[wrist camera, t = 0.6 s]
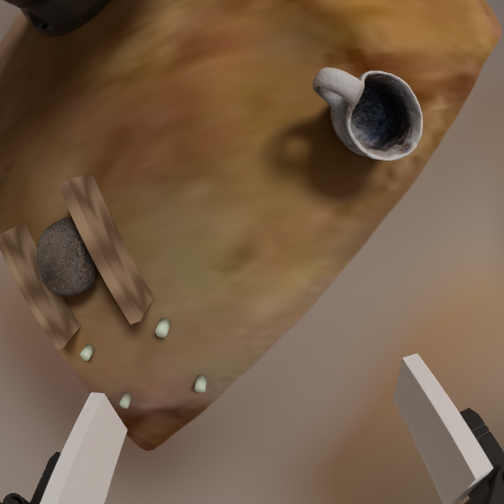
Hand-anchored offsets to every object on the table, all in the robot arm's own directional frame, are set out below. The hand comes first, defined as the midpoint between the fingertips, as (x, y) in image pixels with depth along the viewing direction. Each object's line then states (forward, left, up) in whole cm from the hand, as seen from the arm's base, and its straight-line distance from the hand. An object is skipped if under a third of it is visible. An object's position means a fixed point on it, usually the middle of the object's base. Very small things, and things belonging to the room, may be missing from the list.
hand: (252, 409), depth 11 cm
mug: (-9, +17, -26) cm, 32 cm away
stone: (-8, -22, -26) cm, 35 cm away
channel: (-7, -22, -26) cm, 35 cm away
